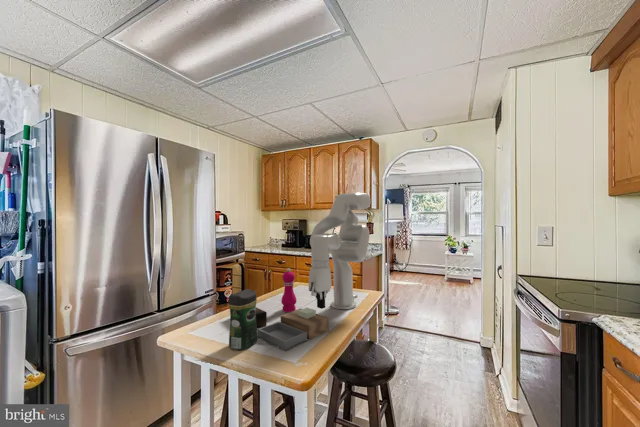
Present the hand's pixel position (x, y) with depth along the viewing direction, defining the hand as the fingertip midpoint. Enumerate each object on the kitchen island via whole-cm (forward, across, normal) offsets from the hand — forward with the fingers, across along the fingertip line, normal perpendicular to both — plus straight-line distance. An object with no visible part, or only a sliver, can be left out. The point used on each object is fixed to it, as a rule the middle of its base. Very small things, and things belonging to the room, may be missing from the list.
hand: (321, 307), depth 113 cm
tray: (+6, +21, 0) cm, 22 cm away
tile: (+1, +8, 0) cm, 8 cm away
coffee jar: (+6, +33, -7) cm, 34 cm away
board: (+6, +10, 0) cm, 12 cm away
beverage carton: (+7, +20, -24) cm, 32 cm away
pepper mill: (+6, -1, -22) cm, 23 cm away
